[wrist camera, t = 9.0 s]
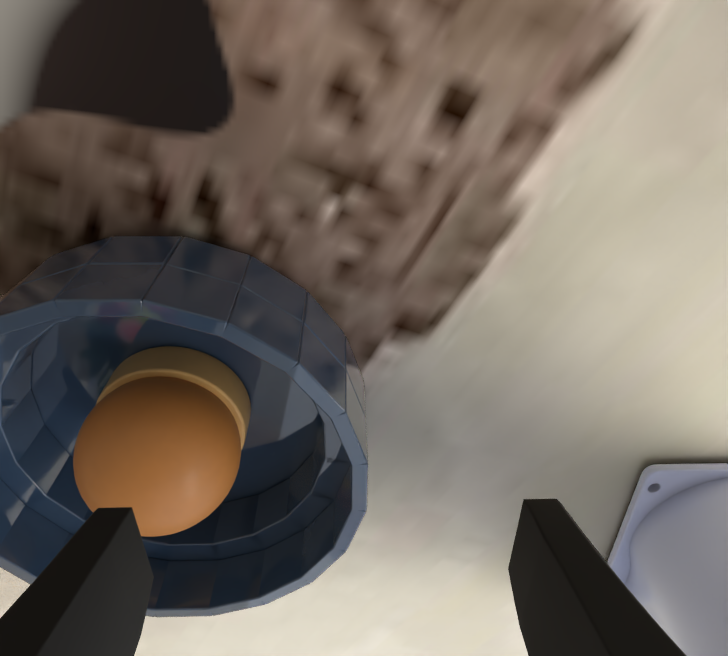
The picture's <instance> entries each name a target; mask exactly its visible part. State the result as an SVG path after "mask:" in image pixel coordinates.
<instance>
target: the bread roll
mask: <svg viewBox="0 0 728 656" xmlns="http://www.w3.org/2000/svg"><path fill="white" fill-rule="evenodd" d="M250 414H251V404H250V399H249V396H248V393H247V390H246V388H245V386H244V385H243V383H242V381H241V380H240V379H239V377H238V376H237V375H236V374H235V373H234V372H233V371H232V370H231V369H230V368H229V367H228V366H226V365H225V364H224V363H222V362H221V361H219V360H218V359H216V358H214V357H212V356H210V355H208V354H206V353H203V352H200V351H197V350H194V349H190V348H184V347H175V346H164V347H155V348H150V349H146V350H143V351H140V352H138V353H136V354H134V355H132V356H130V357H129V358H127V359H125V360H124V361H123V362H122V363H121V364H120V365H119V366H118V367H117V368H116V369H115V371H114V372H113V374H112V376H111V377H110V379H109V381H108V382H107V384H106V386H105V387H104V389H103V391H102V392H101V394H100V396H99V398H98V399H97V402H96V405H95V407H94V408H93V409H92V410H91V412H90V413H89V414H88V416H87V417H86V419H85V421H84V423H83V424H82V427H81V429H80V431H79V433H78V436H77V440H76V443H75V447H74V456H73V469H74V477H75V481H76V484H77V487H78V490H79V492H80V495H81V497H82V498H83V500H84V501H85V503H86V504H87V506H88V507H89V509H90V510H91V511H92V512H94V511H95V510H96V509H98V508H114V507H132V509H133V512H134V515H135V519H136V522H137V525H138V528H139V531H140V534H141V536H145V537H155V536H164V535H170V534H174V533H178V532H180V531H183V530H185V529H188V528H190V527H192V526H194V525H196V524H197V523H199V522H200V521H202V520H203V519H205V518H206V517H208V516H209V515H210V514H211V513H212V512H213V511H214V510H215V509H216V508H217V507H218V506H219V505H220V504H221V503H222V501H223V500H224V499H225V497H226V496H227V495H228V493H229V491H230V489H231V487H232V485H233V483H234V482H235V479H236V476H237V473H238V469H239V465H240V458H241V450H242V448H243V446H244V443H245V439H246V434H247V429H248V425H249V420H250Z"/></svg>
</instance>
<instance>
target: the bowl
mask: <svg viewBox="0 0 728 656" xmlns="http://www.w3.org/2000/svg"><path fill="white" fill-rule="evenodd" d="M164 346H175V347H184V348H190V349H194V350H197V351H200V352H203V353H206V354H208V355H210V356H212V357H214V358H216V359H218V360H219V361H221V362H222V363H224V364H225V365H226V366H228V367H229V368H230V369H231V370H232V371H233V372H234V373H235V374H236V375H237V376H238V377H239V379H240V380H241V381H242V383H243V385H244V386H245V388H246V390H247V393H248V396H249V399H250V404H251V414H250V420H249V425H248V429H247V434H246V439H245V443H244V446H243V448H242V450H241V458H240V465H239V469H238V473H237V476H236V479H235V482H234V483H233V485H232V487H231V489H230V491H229V493H228V495H227V496H226V497H225V499H224V500H223V501H222V503H221V504H220V505H219V506H218V507H217V508H216V509H215V510H214V511H213V512H212V513H211V514H210V515H209V516H208V517H206V518H205V519H203V520H202V521H200V522H199V523H197V524H196V525H194V526H192V527H190V528H188V529H185V530H183V531H180V532H178V533H174V534H170V535H164V536H155V537H145V536H141V538H142V541H143V544H144V547H145V550H146V553H147V557H148V560H149V563H150V566H151V569H152V572H153V576H154V579H153V583H152V588H151V593H150V597H149V602H148V607H147V611H146V615H145V616H150V617H190V616H212V615H213V616H215V615H220V614H224V613H229V612H234V611H238V610H243V609H247V608H252V607H257V606H261V605H265V604H268V603H270V602H272V601H274V600H276V599H278V598H281V597H283V596H285V595H287V594H289V593H291V592H293V591H295V590H297V589H300V588H302V587H304V586H306V585H308V584H310V583H311V582H313V581H314V580H315V579H316V578H317V577H319V576H320V575H321V574H322V573H323V572H324V571H325V570H326V569H327V568H329V567H330V566H331V565H332V564H333V563H334V562H335V561H336V560H337V559H339V558H340V557H341V556H342V555H343V554H344V553H345V552H346V551H347V549H348V547H349V545H350V543H351V541H352V539H353V537H354V535H355V533H356V531H357V529H358V527H359V525H360V523H361V521H362V519H363V517H364V515H365V513H366V510H367V488H368V452H367V431H366V412H365V392H364V380H363V378H362V375H361V373H360V370H359V368H358V365H357V362H356V360H355V357H354V355H353V352H352V350H351V347H350V344H349V342H348V339H347V337H346V336H345V334H344V333H343V331H342V330H341V329H340V328H339V327H338V326H337V324H336V323H335V322H334V321H333V320H332V319H331V318H330V316H329V315H328V314H327V313H326V312H325V311H324V310H323V308H322V307H321V306H320V305H319V304H318V303H317V301H316V300H315V299H314V298H313V297H312V296H311V295H310V293H309V292H307V291H306V289H304V288H302V287H301V286H299V285H298V284H296V283H294V282H293V281H291V280H290V279H288V278H286V277H285V276H283V275H281V274H280V273H278V272H277V271H275V270H273V269H272V268H270V267H269V266H267V265H265V264H264V263H262V262H261V261H259V260H257V259H256V258H254V257H252V256H250V255H248V254H244V253H241V252H237V251H234V250H231V249H227V248H224V247H220V246H217V245H213V244H210V243H206V242H203V241H199V240H196V239H192V238H189V237H186V236H183V238H182V237H181V236H115V237H108V238H105V239H102V240H98V241H95V242H92V243H89V244H86V245H83V246H80V247H77V248H74V249H71V250H67V251H64V252H61V253H58V254H55V255H53V256H52V257H50V258H48V259H47V260H45V261H44V262H43V263H42V264H41V265H39V266H38V267H37V268H36V269H35V270H33V271H32V272H31V273H30V274H28V275H27V276H26V277H25V278H24V279H22V280H21V281H20V282H19V283H17V284H16V285H15V286H14V287H13V288H11V289H10V290H9V291H8V292H7V293H6V294H5V295H3V296H2V297H1V298H0V567H1V568H2V569H4V570H6V571H8V572H10V573H11V574H13V575H15V576H17V577H18V578H20V579H22V580H24V581H25V582H27V583H29V584H32V583H33V582H34V581H35V579H36V578H37V577H38V576H39V575H40V574H41V572H42V571H43V570H44V569H45V568H46V567H47V566H48V564H49V563H50V562H51V561H52V560H53V559H54V558H55V556H56V555H57V554H58V553H59V552H60V551H61V549H62V548H63V547H64V546H65V545H66V544H67V542H68V541H69V540H70V539H71V538H72V537H73V535H74V534H75V533H76V532H77V531H78V530H79V528H80V527H81V526H82V525H83V524H84V523H85V521H86V520H87V519H88V518H89V517H90V516H91V515H92V513H93V512H92V511H91V510H90V509H89V507H88V506H87V504H86V503H85V501H84V500H83V498H82V497H81V495H80V492H79V490H78V487H77V484H76V481H75V477H74V469H73V456H74V447H75V443H76V440H77V436H78V433H79V431H80V429H81V427H82V424H83V423H84V421H85V419H86V417H87V416H88V414H89V413H90V412H91V410H92V409H93V408H94V407H95V405H96V402H97V399H98V398H99V396H100V394H101V392H102V391H103V389H104V387H105V386H106V384H107V382H108V381H109V379H110V377H111V376H112V374H113V372H114V371H115V369H116V368H117V367H118V366H119V365H120V364H121V363H122V362H123V361H124V360H125V359H127V358H129V357H130V356H132V355H134V354H136V353H138V352H140V351H143V350H146V349H150V348H155V347H164Z"/></svg>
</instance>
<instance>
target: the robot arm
mask: <svg viewBox="0 0 728 656" xmlns="http://www.w3.org/2000/svg"><path fill="white" fill-rule="evenodd" d="M508 570H509V575H510V580H511V585H512V591H513V596H514V601H515V606H516V611H517V615H518V620H519V625H520V629H521V632H522V635H523V638H524V642H525V645H526V648H527V651H528V655H529V656H728V463H713V464H654V465H650V466H648V467H646V468H645V469H644V470H643V472H642V473H641V476H640V479H639V481H638V484H637V486H636V489H635V492H634V494H633V497H632V499H631V502H630V504H629V507H628V510H627V512H626V515H625V517H624V520H623V523H622V525H621V528H620V530H619V533H618V535H617V538H616V541H615V543H614V546H613V548H612V551H611V554H610V556H609V559H608V561H607V562H606V561H605V560H604V558H603V557H602V556H601V555H600V553H599V552H598V551H597V550H596V548H595V547H594V546H593V545H592V543H591V542H590V541H589V539H588V538H587V537H586V536H585V534H584V533H583V532H582V530H581V529H580V528H579V526H578V525H577V524H576V522H575V521H574V520H573V518H572V517H571V516H570V515H569V513H568V512H567V511H566V509H565V508H564V507H563V505H562V504H561V503H560V502H559V501H558V500H557V499H524V501H523V505H522V510H521V514H520V518H519V523H518V527H517V532H516V536H515V541H514V545H513V550H512V554H511V559H510V563H509V568H508ZM153 579H154V576H153V572H152V569H151V566H150V563H149V560H148V557H147V553H146V550H145V547H144V544H143V541H142V538H141V534H140V531H139V528H138V525H137V522H136V519H135V515H134V512H133V509H132V507H114V508H98V509H96V510H95V511H94V512H93V513H92V515H91V516H90V517H89V518H88V519H87V520H86V521H85V523H84V524H83V525H82V526H81V527H80V528H79V530H78V531H77V532H76V533H75V534H74V535H73V537H72V538H71V539H70V540H69V541H68V542H67V544H66V545H65V546H64V547H63V548H62V549H61V551H60V552H59V553H58V554H57V555H56V556H55V558H54V559H53V560H52V561H51V562H50V563H49V564H48V566H47V567H46V568H45V569H44V570H43V571H42V572H41V574H40V575H39V576H38V577H37V578H36V579H35V581H34V582H33V583H32V584H31V585H30V586H29V587H28V588H27V589H26V591H25V592H24V593H23V594H22V595H21V596H20V597H19V598H18V599H17V600H16V602H15V603H14V604H13V605H12V606H11V607H10V608H9V609H8V610H7V612H6V613H5V614H4V615H3V616H2V617H1V618H0V656H134V654H135V651H136V648H137V645H138V642H139V639H140V636H141V632H142V628H143V623H144V619H145V615H146V611H147V607H148V602H149V597H150V593H151V588H152V583H153Z"/></svg>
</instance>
